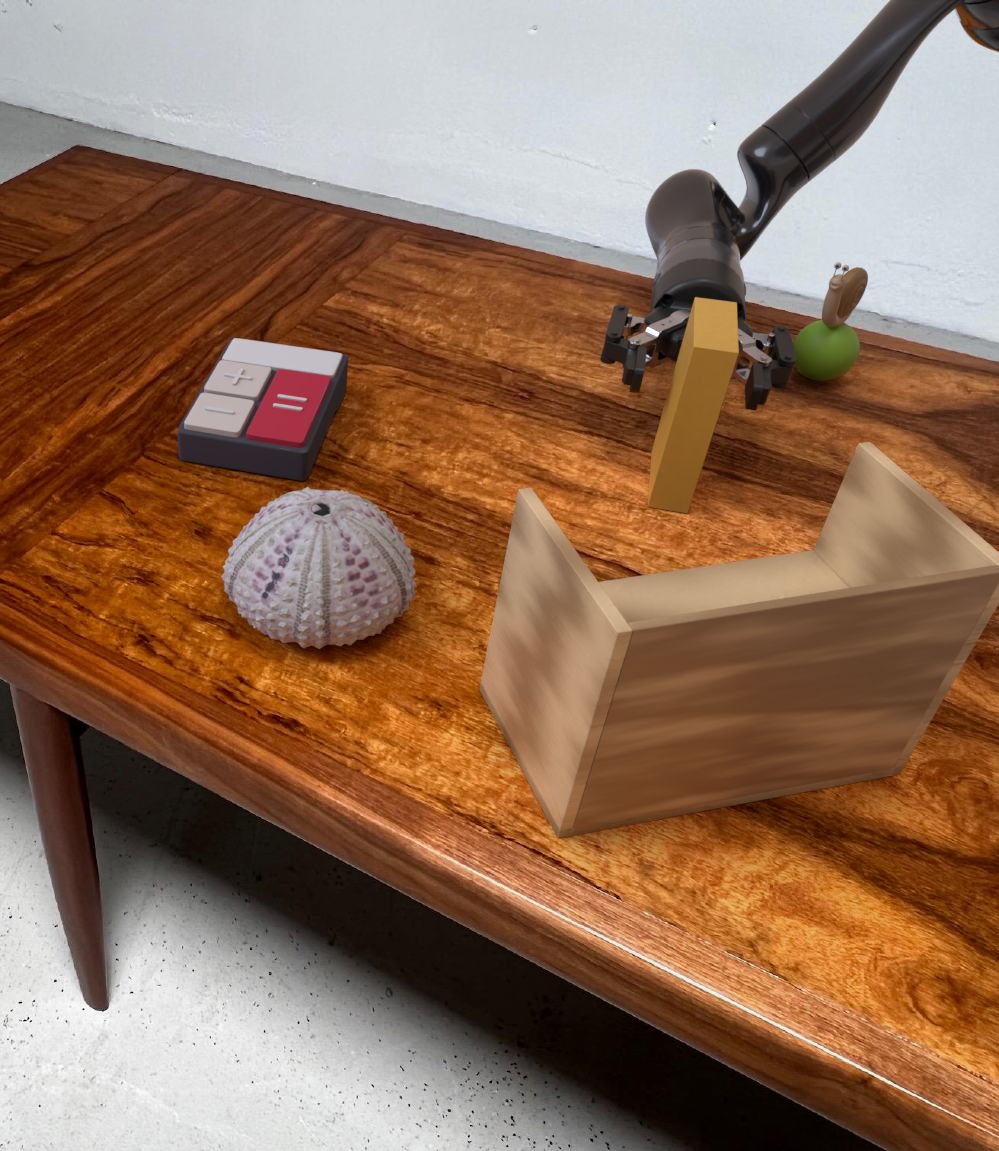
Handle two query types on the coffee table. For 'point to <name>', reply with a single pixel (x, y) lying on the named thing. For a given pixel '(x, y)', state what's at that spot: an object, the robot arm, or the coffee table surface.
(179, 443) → the calculator
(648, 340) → the robot arm
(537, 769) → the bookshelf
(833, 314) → the snail figurine
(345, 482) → the coffee table surface
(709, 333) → the mustard yellow pillar block
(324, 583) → the sea urchin shell
